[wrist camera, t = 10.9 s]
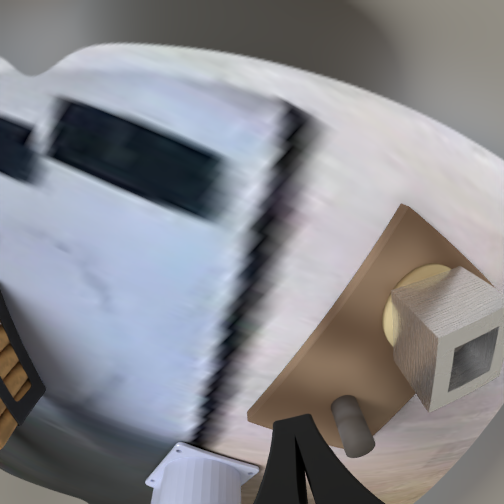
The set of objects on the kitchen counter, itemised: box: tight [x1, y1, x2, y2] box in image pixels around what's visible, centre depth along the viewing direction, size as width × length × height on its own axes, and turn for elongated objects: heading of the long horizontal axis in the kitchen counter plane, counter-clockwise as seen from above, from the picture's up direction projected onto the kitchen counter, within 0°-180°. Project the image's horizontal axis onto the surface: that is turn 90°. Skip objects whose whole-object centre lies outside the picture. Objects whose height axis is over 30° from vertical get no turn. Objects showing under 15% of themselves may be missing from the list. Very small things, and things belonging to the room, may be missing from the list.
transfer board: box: [247, 204, 495, 458], centre depth 18 cm, size 18×11×6 cm, turn 149°
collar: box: [391, 266, 504, 413], centre depth 16 cm, size 5×5×6 cm
